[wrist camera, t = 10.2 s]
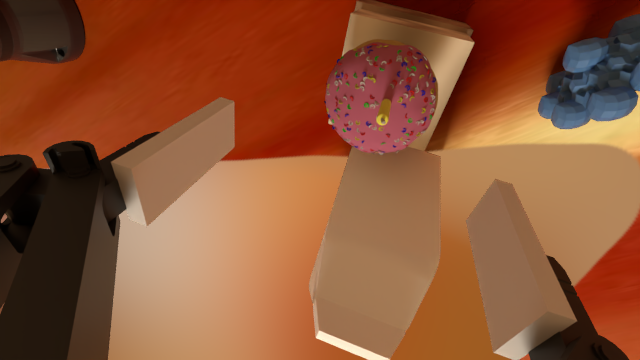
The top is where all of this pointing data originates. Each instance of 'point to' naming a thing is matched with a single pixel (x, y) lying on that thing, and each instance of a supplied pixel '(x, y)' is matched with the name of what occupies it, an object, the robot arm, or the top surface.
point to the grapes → (596, 78)
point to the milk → (377, 251)
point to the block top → (434, 42)
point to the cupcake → (381, 96)
